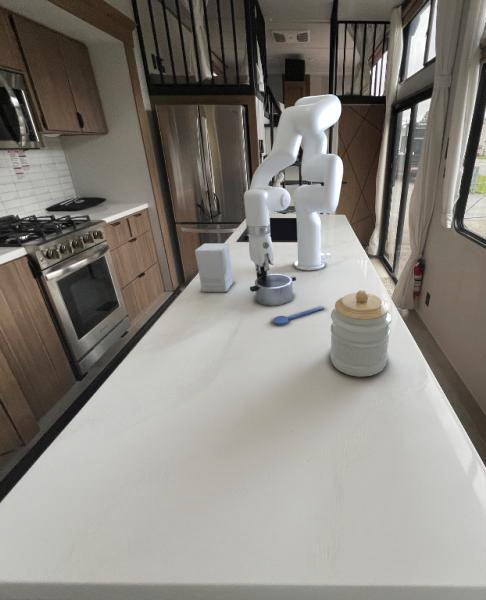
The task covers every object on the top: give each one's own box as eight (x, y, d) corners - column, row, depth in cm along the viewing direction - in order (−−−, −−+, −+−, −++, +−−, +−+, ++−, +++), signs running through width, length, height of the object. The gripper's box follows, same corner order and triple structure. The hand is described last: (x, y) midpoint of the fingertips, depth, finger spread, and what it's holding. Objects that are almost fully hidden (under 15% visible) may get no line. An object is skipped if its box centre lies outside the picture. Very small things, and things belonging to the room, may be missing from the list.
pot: (286, 286, 115) (285, 270, 113) (304, 297, 106) (304, 280, 104) (244, 297, 108) (243, 280, 105) (260, 310, 98) (259, 292, 96)
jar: (351, 385, 67) (355, 310, 60) (319, 353, 78) (319, 286, 70) (398, 366, 73) (408, 295, 65) (363, 339, 83) (368, 275, 75)
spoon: (318, 306, 100) (318, 303, 100) (326, 311, 97) (326, 309, 97) (271, 320, 93) (270, 318, 92) (278, 327, 90) (277, 324, 89)
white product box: (234, 282, 119) (229, 242, 113) (226, 292, 111) (220, 250, 105) (210, 281, 120) (204, 242, 114) (201, 291, 112) (193, 250, 106)
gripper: (279, 233, 100) (282, 287, 108) (259, 224, 112) (263, 274, 120) (257, 236, 97) (261, 292, 105) (239, 227, 108) (244, 278, 116)
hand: (262, 282), depth 112 cm, fingers closed
